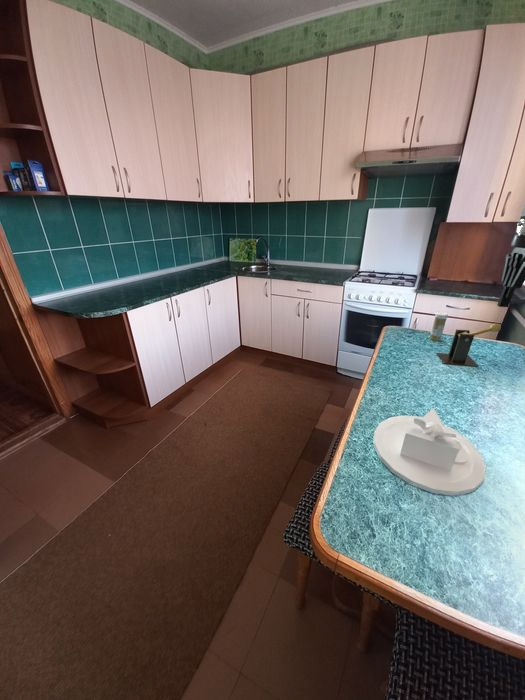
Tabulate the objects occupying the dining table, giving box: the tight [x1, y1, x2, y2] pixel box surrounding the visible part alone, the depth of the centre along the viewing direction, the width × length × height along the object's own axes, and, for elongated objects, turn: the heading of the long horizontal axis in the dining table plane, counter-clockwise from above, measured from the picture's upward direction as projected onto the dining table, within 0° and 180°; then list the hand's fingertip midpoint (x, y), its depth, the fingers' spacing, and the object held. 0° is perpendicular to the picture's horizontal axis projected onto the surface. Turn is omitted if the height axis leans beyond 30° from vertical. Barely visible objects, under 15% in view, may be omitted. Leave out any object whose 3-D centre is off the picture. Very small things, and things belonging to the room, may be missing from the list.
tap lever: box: [458, 323, 501, 337], centre depth 107 cm, size 13×3×3 cm, turn 77°
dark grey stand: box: [435, 329, 479, 368], centre depth 111 cm, size 12×9×13 cm
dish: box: [372, 407, 487, 497], centre depth 71 cm, size 25×25×11 cm
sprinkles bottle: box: [429, 311, 449, 342], centre depth 128 cm, size 5×5×14 cm
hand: (502, 306), depth 101 cm, fingers closed
